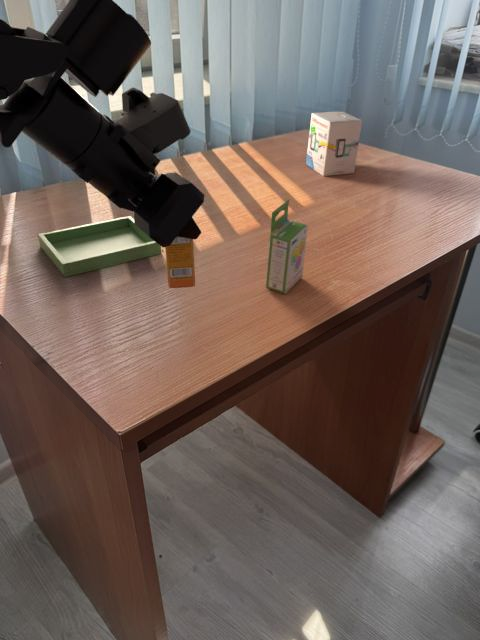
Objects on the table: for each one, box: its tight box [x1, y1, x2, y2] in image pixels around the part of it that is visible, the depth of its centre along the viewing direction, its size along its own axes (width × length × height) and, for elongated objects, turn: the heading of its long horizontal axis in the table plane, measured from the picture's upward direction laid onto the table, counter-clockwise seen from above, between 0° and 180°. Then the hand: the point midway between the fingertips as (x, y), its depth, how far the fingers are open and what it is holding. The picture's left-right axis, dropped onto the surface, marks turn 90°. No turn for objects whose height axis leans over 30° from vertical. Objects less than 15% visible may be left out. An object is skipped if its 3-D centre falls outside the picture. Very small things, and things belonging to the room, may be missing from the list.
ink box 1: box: [265, 199, 309, 295], centre depth 74 cm, size 6×4×12 cm, turn 153°
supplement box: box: [164, 237, 196, 289], centre depth 60 cm, size 3×3×10 cm
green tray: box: [37, 215, 162, 278], centre depth 82 cm, size 15×11×2 cm
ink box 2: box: [305, 110, 363, 177], centre depth 118 cm, size 8×8×12 cm
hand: (189, 228), depth 59 cm, fingers closed on supplement box, 4 cm apart
